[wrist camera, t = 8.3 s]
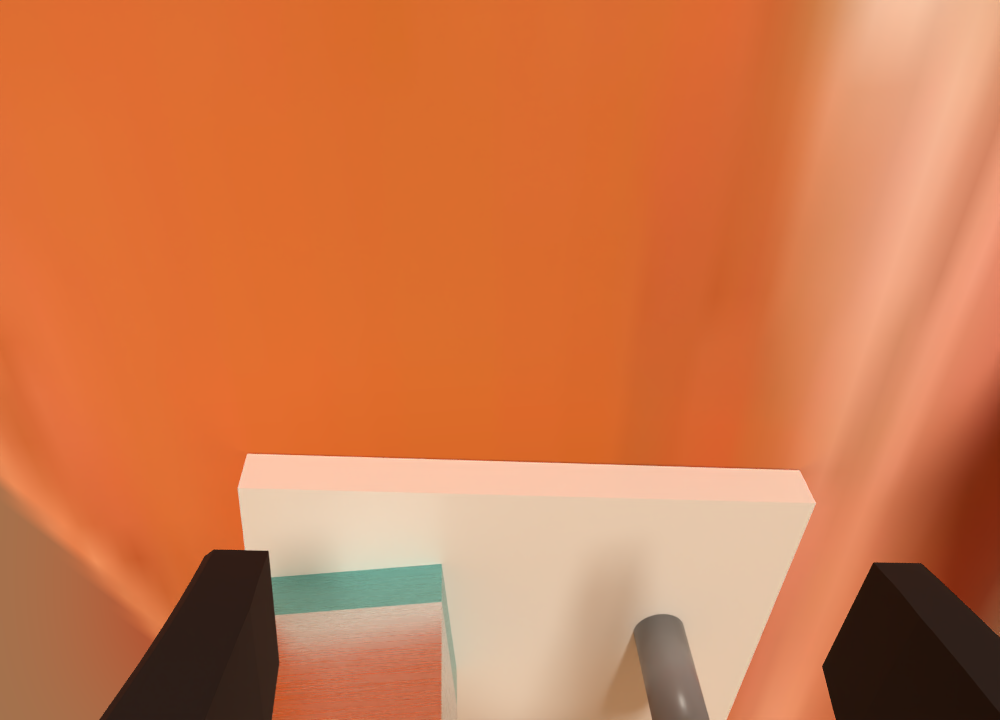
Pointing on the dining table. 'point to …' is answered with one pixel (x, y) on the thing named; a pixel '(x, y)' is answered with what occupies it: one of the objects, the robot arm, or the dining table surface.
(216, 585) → the robot arm
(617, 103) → the dining table surface
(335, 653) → the teal banded block
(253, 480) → the pin board
